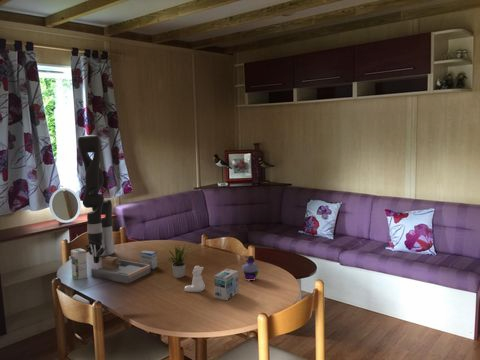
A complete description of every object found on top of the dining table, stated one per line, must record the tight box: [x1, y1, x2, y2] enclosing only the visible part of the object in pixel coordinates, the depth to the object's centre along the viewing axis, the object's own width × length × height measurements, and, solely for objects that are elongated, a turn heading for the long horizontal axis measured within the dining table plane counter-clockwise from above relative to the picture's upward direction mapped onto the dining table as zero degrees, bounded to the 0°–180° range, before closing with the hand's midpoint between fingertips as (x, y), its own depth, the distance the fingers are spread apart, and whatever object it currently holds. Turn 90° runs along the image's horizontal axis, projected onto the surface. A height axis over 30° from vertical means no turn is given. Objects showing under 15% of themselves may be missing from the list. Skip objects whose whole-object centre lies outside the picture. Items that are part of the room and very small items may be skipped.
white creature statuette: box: [184, 265, 206, 293], centre depth 205 cm, size 10×9×12 cm
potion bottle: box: [241, 255, 260, 279], centre depth 218 cm, size 9×9×12 cm
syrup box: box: [70, 248, 88, 281], centre depth 222 cm, size 6×6×14 cm
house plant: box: [166, 245, 194, 279], centre depth 223 cm, size 14×14×16 cm
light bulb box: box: [214, 268, 240, 301], centre depth 198 cm, size 11×7×11 cm, turn 148°
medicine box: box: [139, 250, 158, 270], centre depth 238 cm, size 8×4×9 cm, turn 68°
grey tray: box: [90, 258, 152, 284], centre depth 228 cm, size 18×24×4 cm
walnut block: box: [101, 255, 119, 270], centre depth 231 cm, size 5×7×5 cm
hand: (96, 262), depth 235 cm, fingers closed
